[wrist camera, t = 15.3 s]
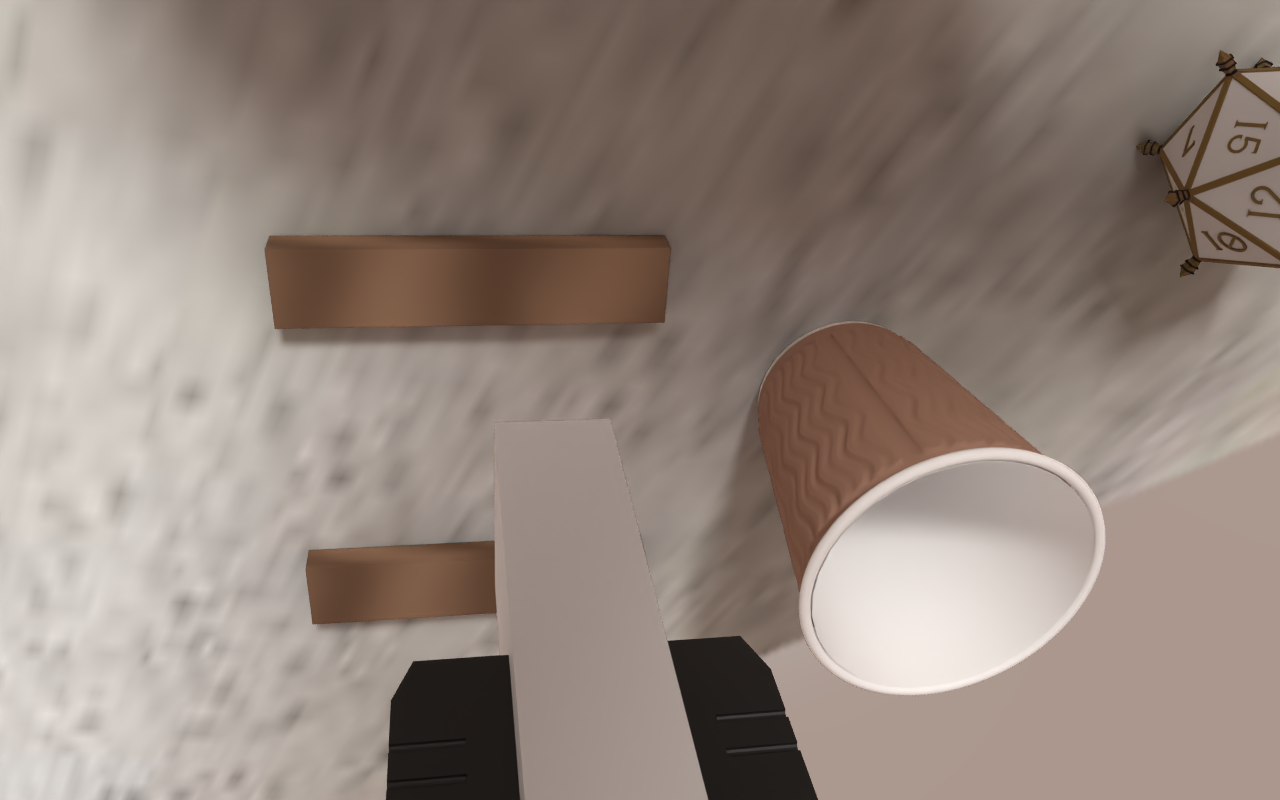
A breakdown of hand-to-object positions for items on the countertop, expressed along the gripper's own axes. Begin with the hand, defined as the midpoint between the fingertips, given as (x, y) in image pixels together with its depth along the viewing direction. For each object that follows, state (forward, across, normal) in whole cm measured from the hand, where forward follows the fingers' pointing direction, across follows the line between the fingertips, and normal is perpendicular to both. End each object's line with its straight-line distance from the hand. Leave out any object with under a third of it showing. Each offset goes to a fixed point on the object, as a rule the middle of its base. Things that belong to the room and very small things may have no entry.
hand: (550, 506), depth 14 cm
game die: (+25, +28, -2) cm, 37 cm away
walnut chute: (+24, 0, -15) cm, 29 cm away
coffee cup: (+25, +14, -13) cm, 31 cm away
